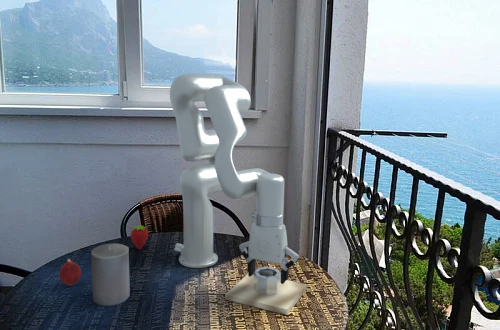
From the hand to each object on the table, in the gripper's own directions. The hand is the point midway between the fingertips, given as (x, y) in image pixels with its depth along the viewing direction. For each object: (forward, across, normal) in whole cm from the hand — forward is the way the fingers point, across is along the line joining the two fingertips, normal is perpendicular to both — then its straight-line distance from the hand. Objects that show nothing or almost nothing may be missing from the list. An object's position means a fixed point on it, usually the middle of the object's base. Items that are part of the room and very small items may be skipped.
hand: (267, 278), depth 127 cm
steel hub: (+3, 0, 0) cm, 3 cm away
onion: (+5, -52, -21) cm, 56 cm away
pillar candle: (+5, -37, -21) cm, 43 cm away
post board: (+5, 0, 0) cm, 5 cm away
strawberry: (+5, -52, +10) cm, 53 cm away
